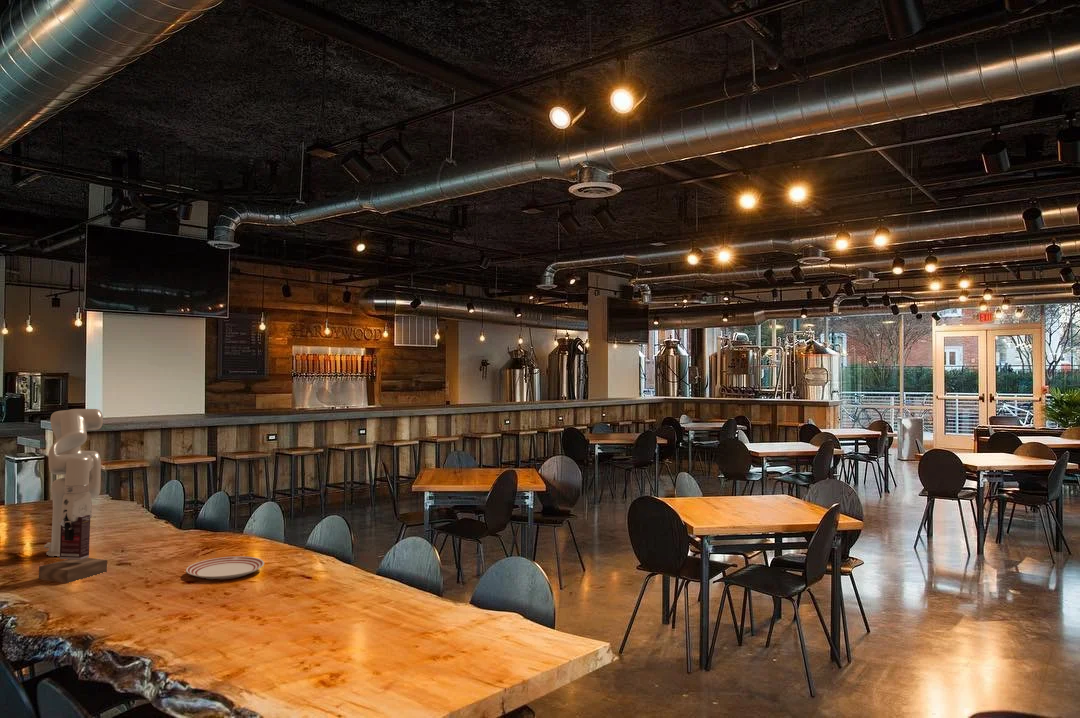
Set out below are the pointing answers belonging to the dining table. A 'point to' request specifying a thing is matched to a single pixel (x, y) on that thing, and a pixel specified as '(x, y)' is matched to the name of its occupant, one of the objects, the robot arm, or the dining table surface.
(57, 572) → the walnut block
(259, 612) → the dining table surface
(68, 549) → the supplement box
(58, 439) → the robot arm
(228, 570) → the dinner plate
